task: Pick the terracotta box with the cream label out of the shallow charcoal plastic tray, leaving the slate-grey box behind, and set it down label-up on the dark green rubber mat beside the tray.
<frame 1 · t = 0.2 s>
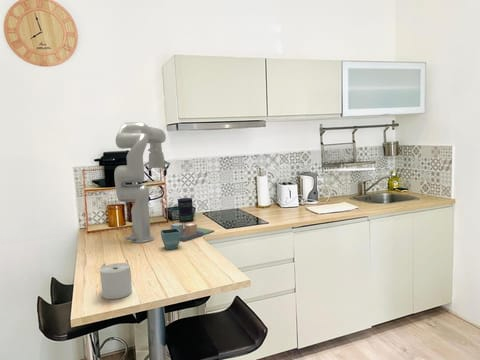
hand: (157, 176, 257), 31 cm above the countertop, tool pointing down, fingers open, 9 cm apart
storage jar: (186, 221, 260), on the countertop
parts tray: (184, 236, 220), on the countertop
toilet tissue: (115, 294, 144), on the countertop
plain box: (177, 235, 221), point 1 cm above the countertop, touching parts tray
flower pot: (171, 248, 199), on the countertop
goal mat: (201, 231, 230), on the countertop
labelled box: (191, 235, 219), point 1 cm above the countertop, touching parts tray
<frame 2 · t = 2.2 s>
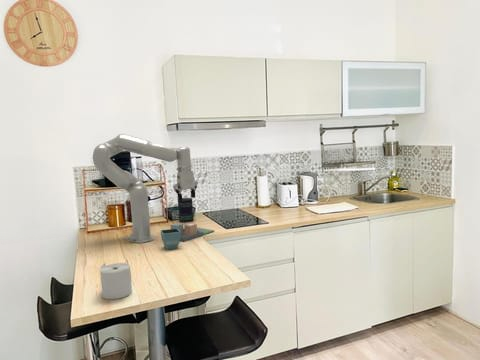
hand: (186, 198, 220), 21 cm above the countertop, tool pointing down, fingers open, 9 cm apart
nothing on the countertop moved.
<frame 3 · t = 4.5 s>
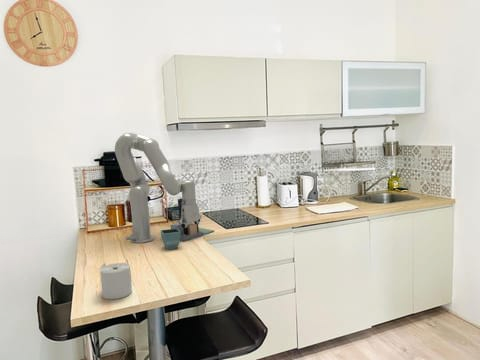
hand: (191, 232, 219), 3 cm above the countertop, tool pointing down, fingers open, 7 cm apart
nothing on the countertop moved.
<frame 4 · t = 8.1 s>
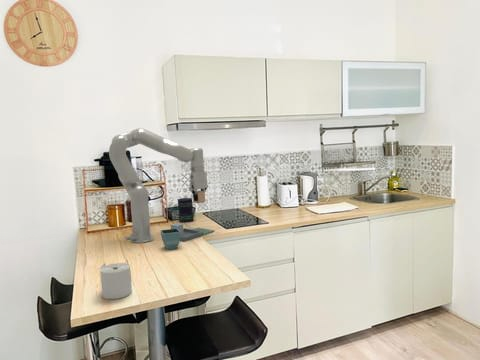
hand: (199, 199, 227), 19 cm above the countertop, tool pointing down, fingers closed on labelled box, 5 cm apart
labelled box: (199, 202, 228), point 18 cm above the countertop, touching gripper
everything else where it was.
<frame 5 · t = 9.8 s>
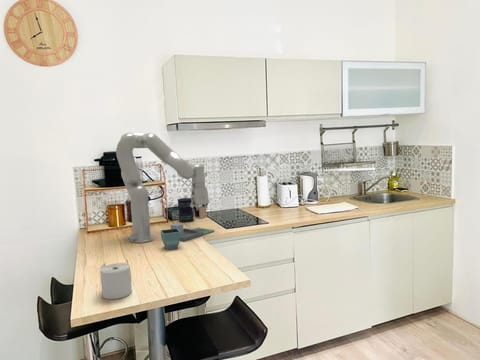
hand: (200, 215, 229), 10 cm above the countertop, tool pointing down, fingers closed on labelled box, 5 cm apart
labelled box: (200, 217, 229), point 8 cm above the countertop, touching gripper
everything else where it was.
when the fingers open (4 cm above the countertop, at t = 11.4 s): labelled box drops 1 cm, resting on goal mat.
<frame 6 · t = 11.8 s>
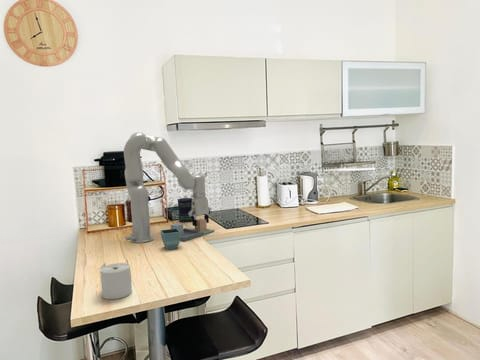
hand: (200, 224, 229), 5 cm above the countertop, tool pointing down, fingers open, 9 cm apart
labelled box: (200, 230, 230), point 1 cm above the countertop, touching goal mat
everything else where it was.
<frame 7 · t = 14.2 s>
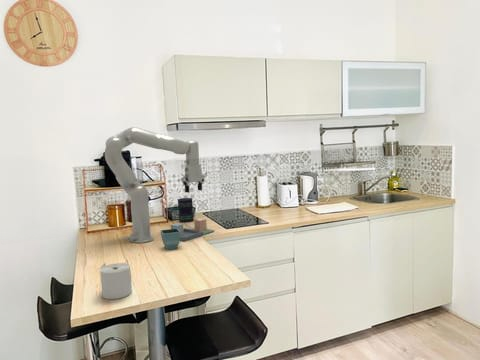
hand: (193, 191, 227), 24 cm above the countertop, tool pointing down, fingers open, 9 cm apart
nothing on the countertop moved.
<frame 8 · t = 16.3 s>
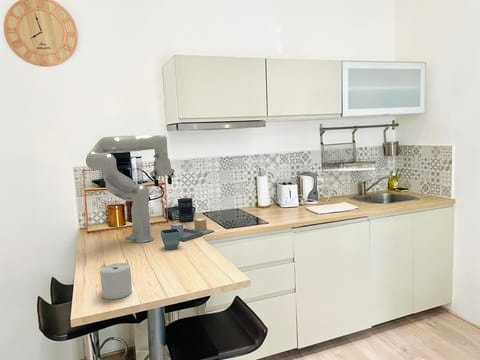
hand: (163, 185, 231), 28 cm above the countertop, tool pointing down, fingers open, 9 cm apart
nothing on the countertop moved.
at the end: labelled box inside the target area on the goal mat (0.2 cm from its centre), point 0.8 cm above the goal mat's base; labelled box tilted 0°; plain box moved 0.0 cm from its start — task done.
